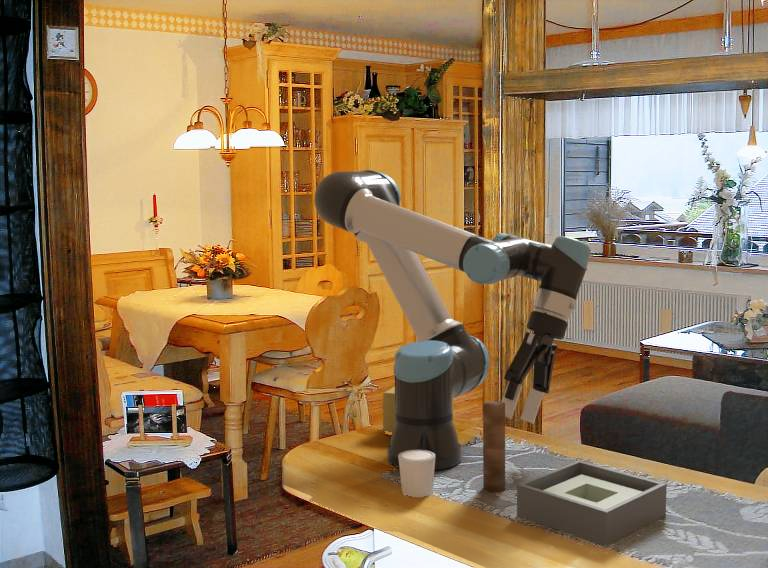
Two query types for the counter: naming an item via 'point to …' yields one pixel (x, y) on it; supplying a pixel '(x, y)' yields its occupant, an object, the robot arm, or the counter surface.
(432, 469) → the white cup
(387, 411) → the cheese
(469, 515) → the counter surface
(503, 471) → the peg
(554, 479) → the open box
